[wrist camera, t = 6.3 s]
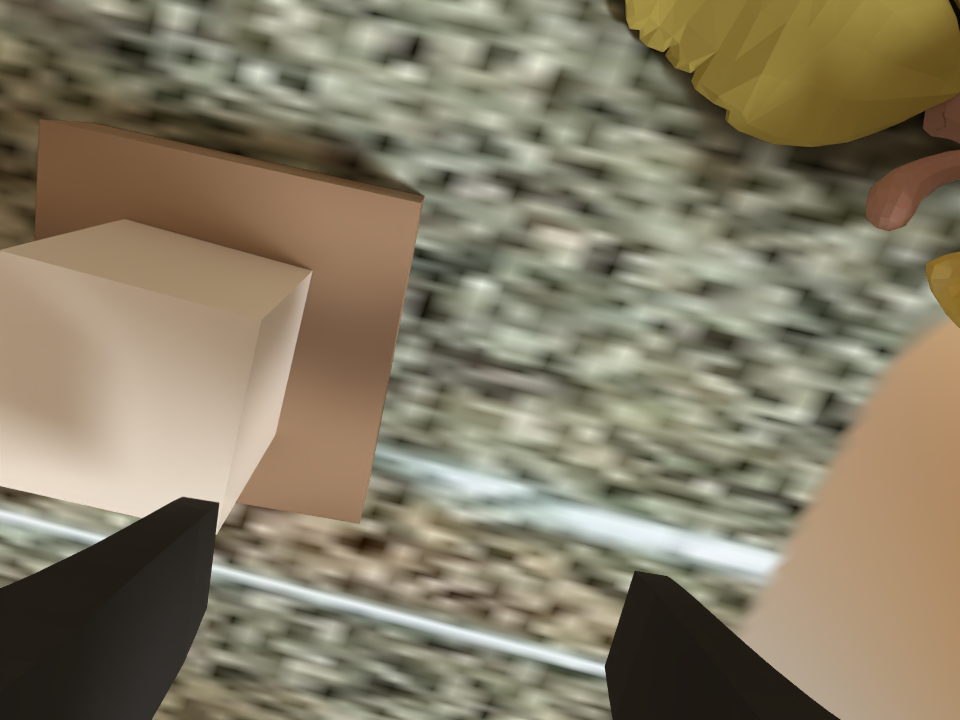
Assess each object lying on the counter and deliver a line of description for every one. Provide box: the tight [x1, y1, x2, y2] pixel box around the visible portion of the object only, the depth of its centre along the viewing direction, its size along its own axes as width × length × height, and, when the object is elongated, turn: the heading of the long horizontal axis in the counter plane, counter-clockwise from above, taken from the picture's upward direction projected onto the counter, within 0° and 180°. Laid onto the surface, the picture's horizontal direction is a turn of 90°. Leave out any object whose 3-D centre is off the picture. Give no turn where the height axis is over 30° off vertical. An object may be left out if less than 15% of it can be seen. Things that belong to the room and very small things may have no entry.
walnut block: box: [34, 119, 424, 524], centre depth 19 cm, size 9×9×3 cm
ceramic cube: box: [0, 219, 312, 535], centre depth 16 cm, size 5×5×5 cm
